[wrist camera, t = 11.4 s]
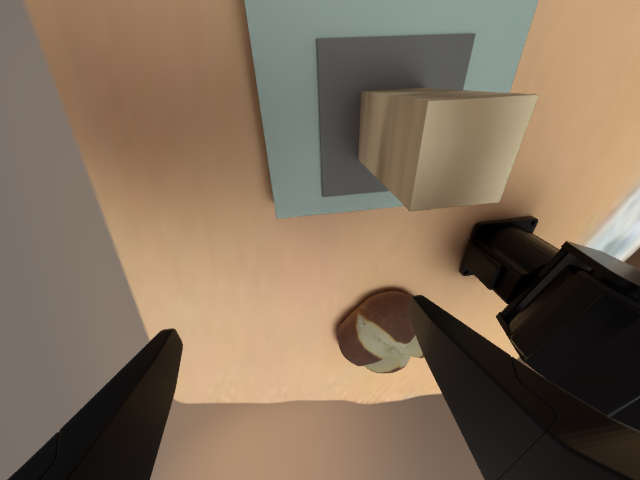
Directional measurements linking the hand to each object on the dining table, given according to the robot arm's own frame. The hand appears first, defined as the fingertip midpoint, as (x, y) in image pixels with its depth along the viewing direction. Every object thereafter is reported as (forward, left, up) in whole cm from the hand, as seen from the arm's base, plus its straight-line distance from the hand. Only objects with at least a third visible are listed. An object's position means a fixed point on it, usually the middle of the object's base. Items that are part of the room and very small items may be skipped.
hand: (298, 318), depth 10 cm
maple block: (-7, -5, -10) cm, 13 cm away
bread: (-9, +18, -14) cm, 25 cm away
